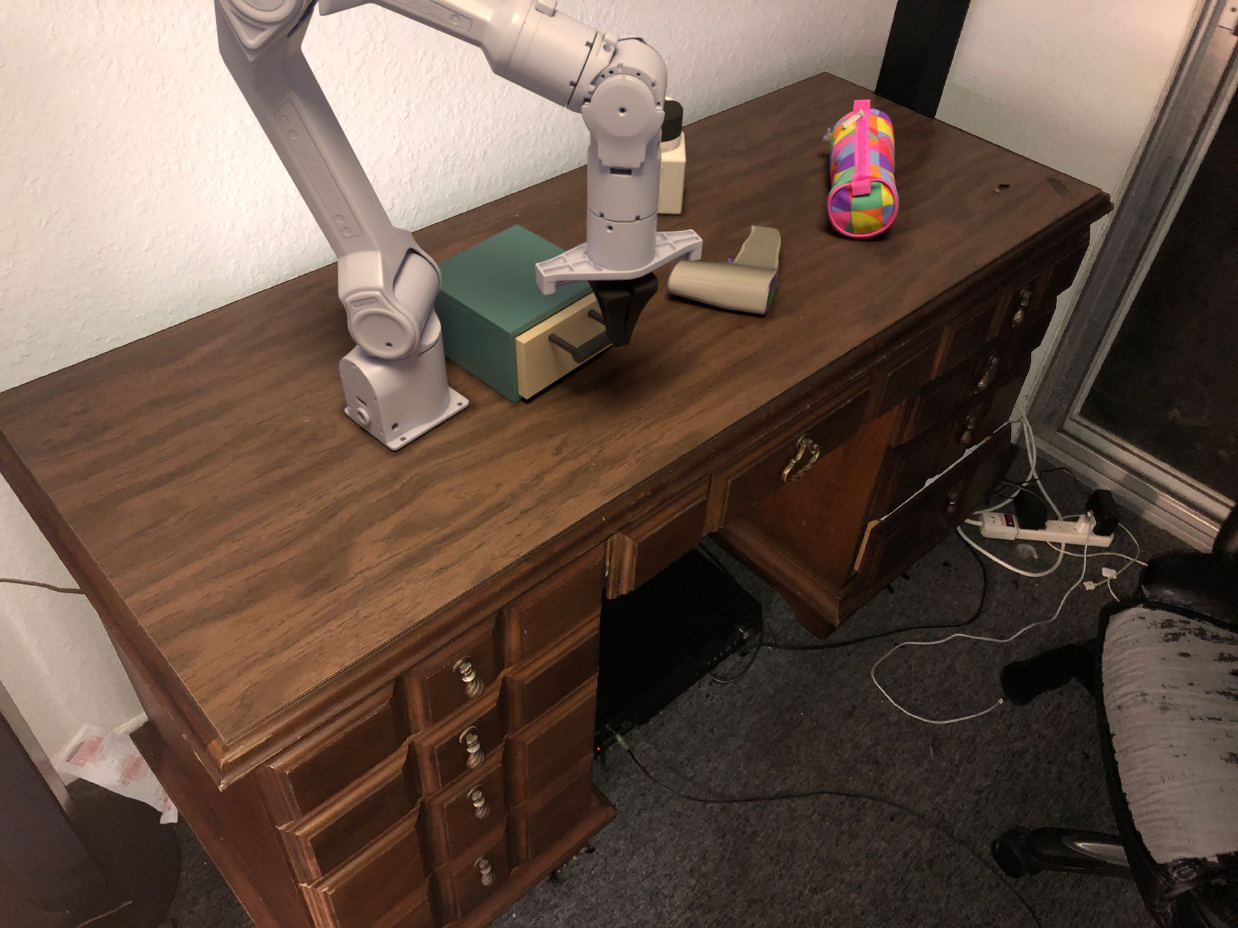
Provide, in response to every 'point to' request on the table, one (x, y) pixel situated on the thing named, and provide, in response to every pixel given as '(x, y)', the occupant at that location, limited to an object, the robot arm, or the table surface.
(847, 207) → the pencil case
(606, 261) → the robot arm
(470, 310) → the cabinet
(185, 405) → the table surface
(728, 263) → the infrared thermometer
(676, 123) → the container
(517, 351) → the drawer
